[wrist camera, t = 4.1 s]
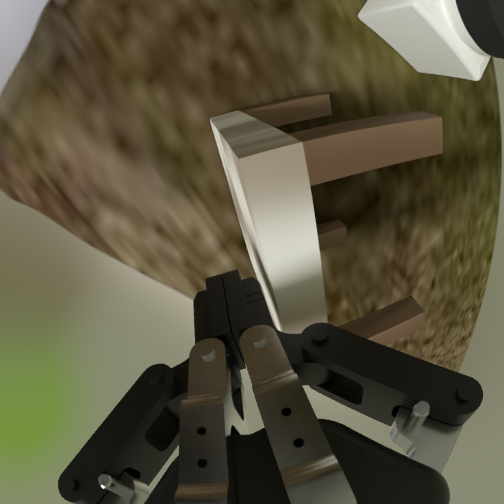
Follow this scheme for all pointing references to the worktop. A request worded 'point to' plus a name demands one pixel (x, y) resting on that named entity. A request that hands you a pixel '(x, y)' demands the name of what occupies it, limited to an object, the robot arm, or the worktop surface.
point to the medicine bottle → (440, 33)
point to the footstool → (300, 199)
